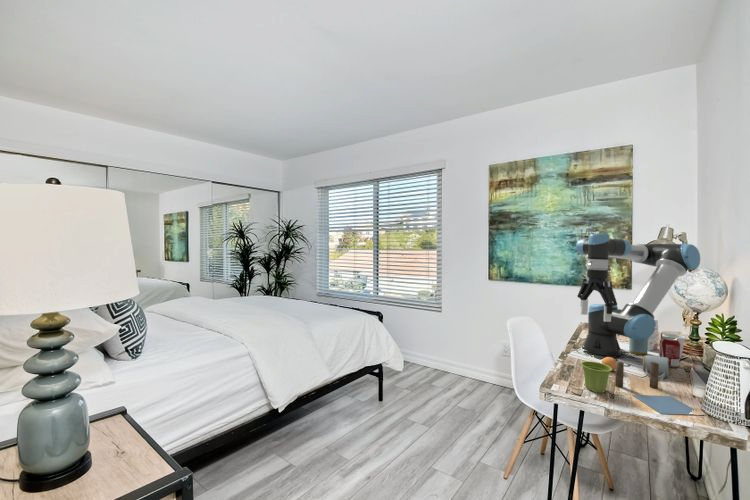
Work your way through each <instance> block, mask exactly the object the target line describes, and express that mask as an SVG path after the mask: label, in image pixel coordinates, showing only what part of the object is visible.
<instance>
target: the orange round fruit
mask: <svg viewBox="0 0 750 500" xmlns="http://www.w3.org/2000/svg"><path fill="white" fill-rule="evenodd" d="M616 361H617V360H616V359H615V358H614V357H612V356H606V357H603V359H602V360H601V363H602V364H605V365H608V366H609V367H611V368H612V371H611V372H613V371H616Z"/></svg>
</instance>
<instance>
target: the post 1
mask: <svg viewBox="0 0 750 500" xmlns="http://www.w3.org/2000/svg"><path fill="white" fill-rule="evenodd" d="M624 368H625V362H623V361H619V360H616V369H615V375H614V376H615V378H614V379H615V382H614V383H615V384H614V386H615V387H617V388H623V387H624V372H625V371H624V370H625V369H624Z"/></svg>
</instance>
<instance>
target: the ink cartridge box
mask: <svg viewBox="0 0 750 500" xmlns="http://www.w3.org/2000/svg"><path fill="white" fill-rule="evenodd" d="M654 320H655V319H654ZM655 323H656V326H655V327H654V328H655V331H654V333H653V334H652V335H651V336H650V337H649V338H648V352H649V351H654V350H658V345H659V344H658V343H659V322H658V319H656V320H655Z"/></svg>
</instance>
